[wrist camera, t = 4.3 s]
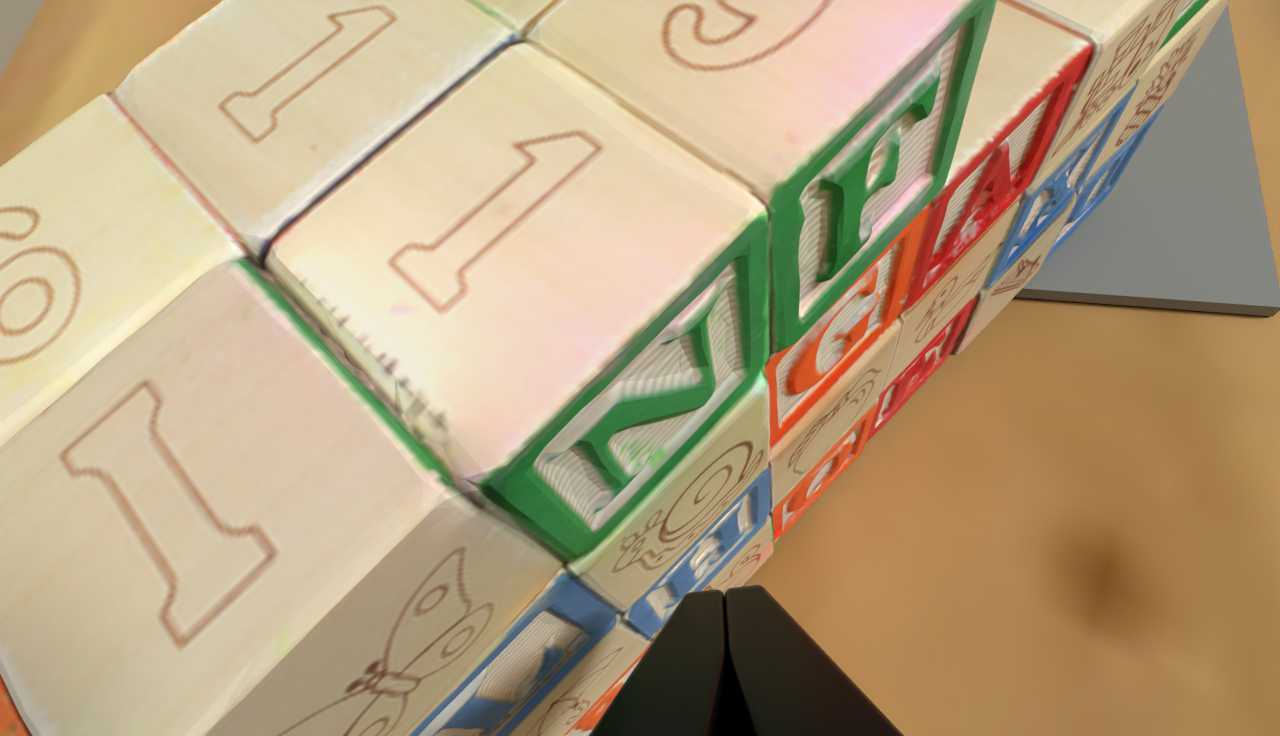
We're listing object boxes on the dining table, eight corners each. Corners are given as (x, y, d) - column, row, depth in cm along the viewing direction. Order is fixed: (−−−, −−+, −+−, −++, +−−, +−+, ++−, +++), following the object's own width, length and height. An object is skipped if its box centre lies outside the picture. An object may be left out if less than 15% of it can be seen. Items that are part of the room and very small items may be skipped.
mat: (1272, 316, 17) (1282, 307, 17) (334, 245, 23) (328, 237, 22) (1206, -64, 23) (1212, -76, 23) (459, -50, 28) (455, -60, 28)
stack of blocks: (905, 77, 21) (1040, -610, 10) (1115, 194, 19) (1584, -549, 8) (290, 648, 17) (-545, 512, 6) (451, 894, 15) (-470, 1362, 4)
